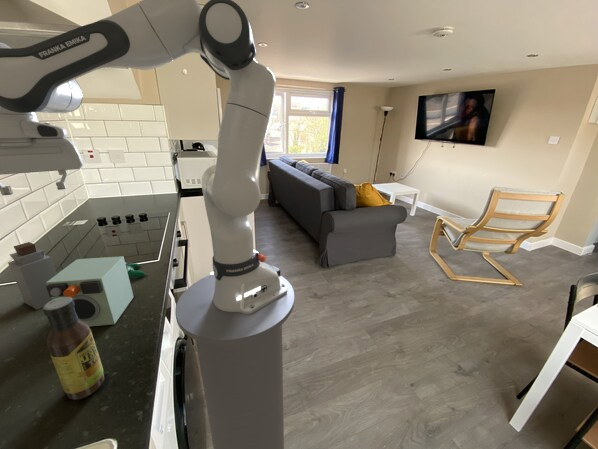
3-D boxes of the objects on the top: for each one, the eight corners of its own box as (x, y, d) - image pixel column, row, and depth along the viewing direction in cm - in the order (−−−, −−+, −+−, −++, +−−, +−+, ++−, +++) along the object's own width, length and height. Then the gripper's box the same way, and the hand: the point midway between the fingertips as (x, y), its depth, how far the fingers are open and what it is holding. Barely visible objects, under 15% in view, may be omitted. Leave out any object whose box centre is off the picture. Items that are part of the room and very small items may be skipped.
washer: (111, 328, 67) (97, 282, 63) (59, 334, 66) (40, 286, 61) (133, 296, 80) (123, 256, 75) (90, 300, 78) (76, 259, 73)
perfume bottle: (64, 296, 80) (45, 242, 74) (36, 309, 74) (13, 252, 68) (53, 290, 83) (33, 238, 76) (25, 303, 77) (1, 247, 71)
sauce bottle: (99, 396, 51) (69, 311, 44) (60, 406, 49) (22, 319, 42) (110, 368, 56) (85, 290, 49) (75, 376, 54) (44, 296, 48)
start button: (76, 297, 62) (73, 289, 61) (64, 298, 62) (61, 290, 61) (81, 292, 64) (78, 284, 63) (70, 293, 63) (67, 285, 63)
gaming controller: (133, 273, 96) (117, 266, 92) (140, 264, 97) (124, 257, 93) (140, 283, 90) (123, 277, 86) (147, 274, 91) (130, 267, 87)
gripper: (-70, 130, 49) (-36, 201, 54) (71, 129, 60) (88, 188, 64) (-54, 129, 54) (-24, 195, 58) (74, 128, 64) (90, 184, 69)
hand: (36, 191), depth 62 cm, fingers open, 8 cm apart
